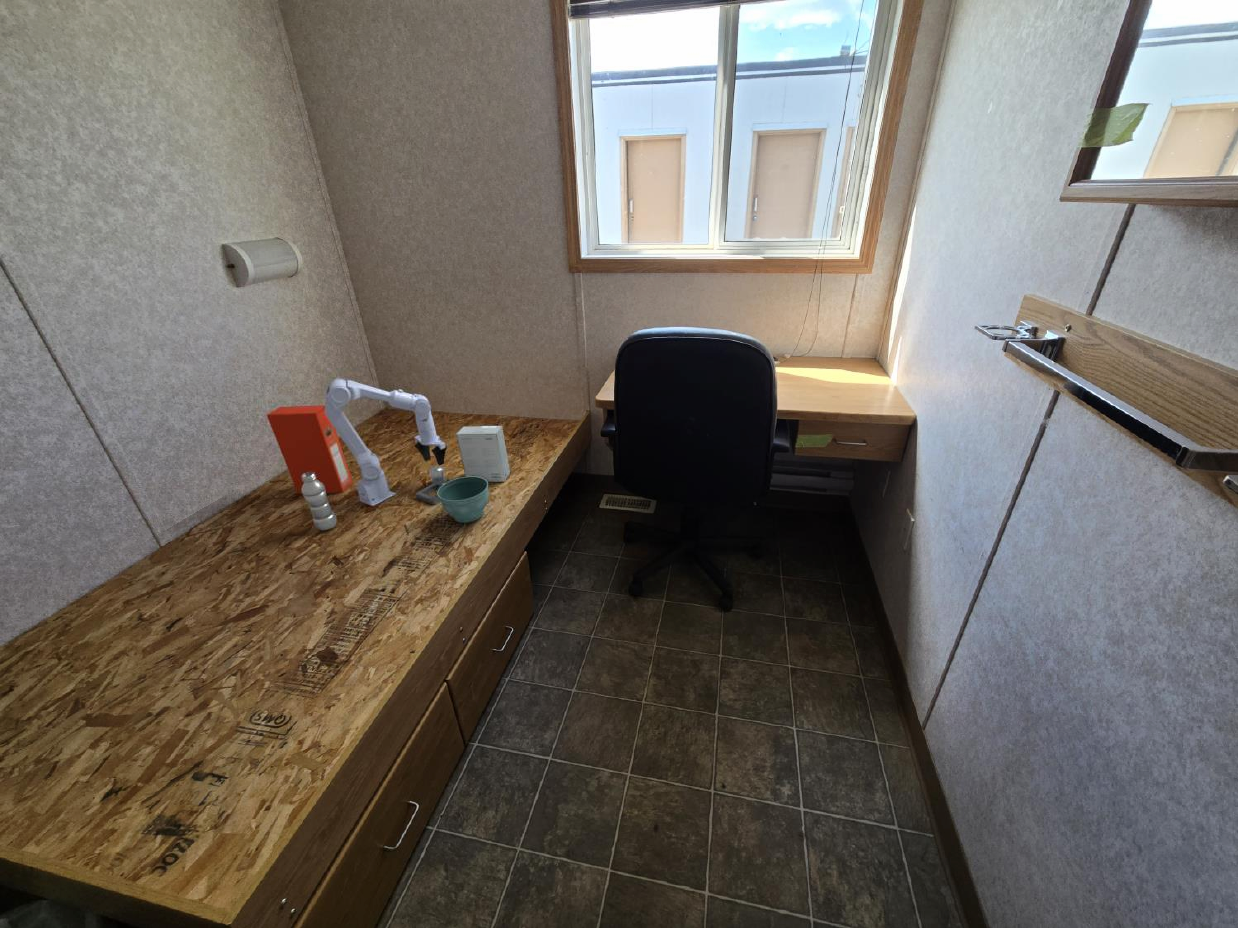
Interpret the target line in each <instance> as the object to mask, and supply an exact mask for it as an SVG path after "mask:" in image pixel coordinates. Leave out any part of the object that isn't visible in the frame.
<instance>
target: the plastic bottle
mask: <svg viewBox="0 0 1238 928" xmlns="http://www.w3.org/2000/svg"><path fill="white" fill-rule="evenodd" d="M302 481H303V482H304V484H303V486H302V495H303V497H304V499H305V500H306V503H307V505H308V506H309V509H310V512H311V514H312V520H313V525H314V526H315V528H316V529H317V530H319V531H327V530H330V529H332V528H334V527H336V525H337V522H338V519H337V516H336V514H335V513H334V512H333V509H332V508H331V505H330V504H329V501H328V497H327V493H326V491H325V486H324V485H323V484H322V483H321V482H320V481H318V480H316V476H315V473H314V472H307V473H304V474H302Z"/></svg>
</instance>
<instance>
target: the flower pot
mask: <svg viewBox="0 0 1238 928" xmlns="http://www.w3.org/2000/svg"><path fill="white" fill-rule="evenodd" d="M437 495H438V497H439V499H440V501H441V502H440V504H441V506H442V507H443V509H444V510H445V511H446V513H447V514H448V515H449V516H451V517H452V518H454V520H455V521H456V522H458V523H461V524H467V523H471V522H474V521H477V520H479V519H480V518H481V517H482V516H483V514H484V510H485V508H486V507H487V503H488V500H489V482H487V481H486V480H485V479H483V478H481V477H475V476H469V477H465V476H462V477H458V478H454V479H452V480H450V481H446V483H445V484H444V485H442V486H441V487H440V488H439V489H437Z"/></svg>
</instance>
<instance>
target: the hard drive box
mask: <svg viewBox="0 0 1238 928" xmlns="http://www.w3.org/2000/svg"><path fill="white" fill-rule="evenodd" d="M455 435H456V439H457V443H458V444H457V445H458V449H459V454H460V458H461V463H462V467H463V471H464V477H469V476H475V477H481V478H483V479H485V480H486V481H487V482H488V483H489V482H492V483H496V482H497V483H498V482H499V483H500V482H503V483H504V482H506V481H507V478H508V477H509V475H510V474H511V470H510V465H509V458H508V454H507V453H508V452H507V448H506V442H505V436H504V431H503V426H502V425H480V426H473V425H472V426H463V427H462V428H461V429H459V430H458V432H457V433H456V434H455Z"/></svg>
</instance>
